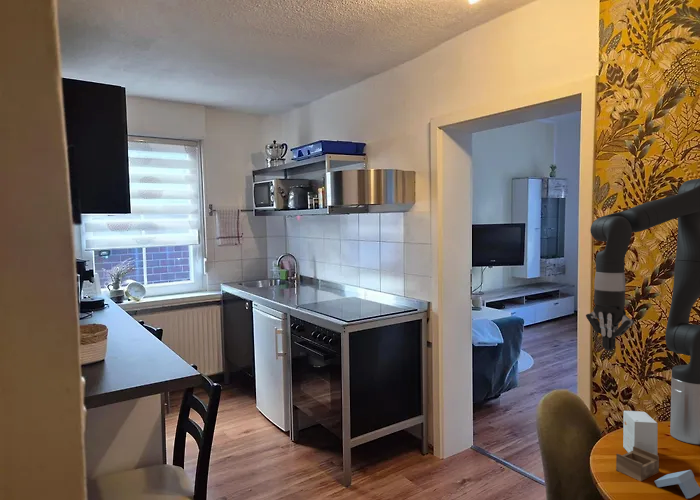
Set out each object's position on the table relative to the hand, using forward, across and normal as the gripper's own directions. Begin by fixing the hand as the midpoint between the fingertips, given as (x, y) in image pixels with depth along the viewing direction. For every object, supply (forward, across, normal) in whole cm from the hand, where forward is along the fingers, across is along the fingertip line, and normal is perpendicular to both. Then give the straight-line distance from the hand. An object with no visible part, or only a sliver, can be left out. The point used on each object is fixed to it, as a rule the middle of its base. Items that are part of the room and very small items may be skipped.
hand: (608, 349), depth 131 cm
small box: (+27, -8, -2) cm, 28 cm away
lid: (+24, -21, +8) cm, 33 cm away
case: (+27, -12, +8) cm, 31 cm away
